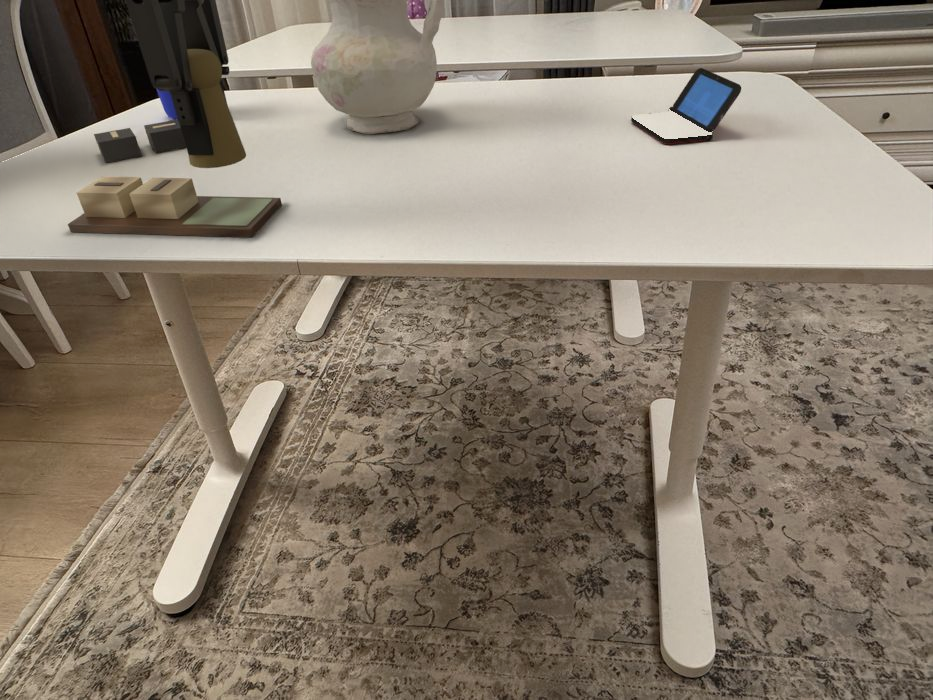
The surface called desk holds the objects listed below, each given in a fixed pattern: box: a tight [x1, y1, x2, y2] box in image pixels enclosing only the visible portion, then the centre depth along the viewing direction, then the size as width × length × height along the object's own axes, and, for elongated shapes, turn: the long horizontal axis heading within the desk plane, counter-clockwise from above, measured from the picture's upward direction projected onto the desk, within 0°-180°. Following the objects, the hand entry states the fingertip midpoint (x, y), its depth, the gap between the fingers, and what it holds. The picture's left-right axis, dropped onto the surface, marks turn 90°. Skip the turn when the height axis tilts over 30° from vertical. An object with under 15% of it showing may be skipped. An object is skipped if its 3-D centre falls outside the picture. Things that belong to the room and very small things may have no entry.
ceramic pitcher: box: [310, 0, 445, 136], centre depth 98 cm, size 22×20×25 cm
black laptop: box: [630, 67, 742, 146], centre depth 95 cm, size 12×11×7 cm
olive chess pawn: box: [187, 48, 247, 169], centre depth 68 cm, size 6×6×11 cm
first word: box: [93, 119, 187, 164], centre depth 97 cm, size 5×12×3 cm, turn 122°
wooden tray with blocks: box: [67, 176, 283, 238], centre depth 75 cm, size 22×9×4 cm, turn 82°
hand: (212, 145), depth 70 cm, fingers closed on olive chess pawn, 4 cm apart
